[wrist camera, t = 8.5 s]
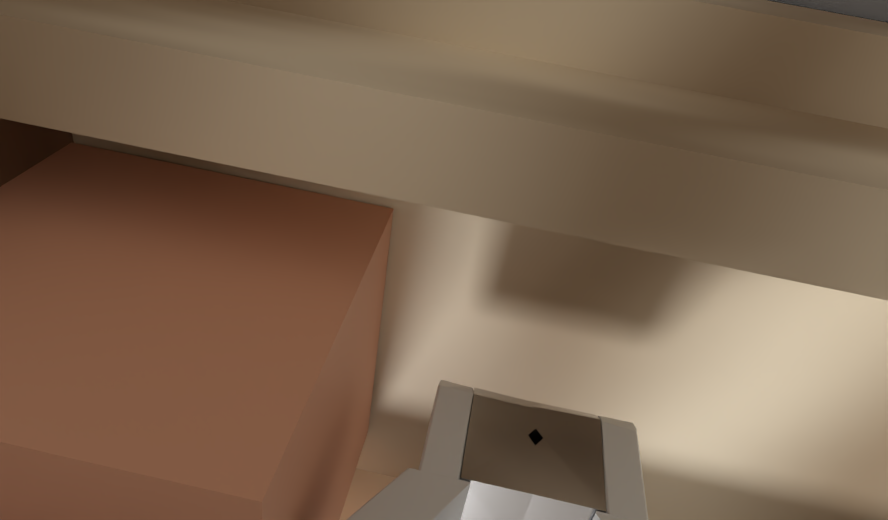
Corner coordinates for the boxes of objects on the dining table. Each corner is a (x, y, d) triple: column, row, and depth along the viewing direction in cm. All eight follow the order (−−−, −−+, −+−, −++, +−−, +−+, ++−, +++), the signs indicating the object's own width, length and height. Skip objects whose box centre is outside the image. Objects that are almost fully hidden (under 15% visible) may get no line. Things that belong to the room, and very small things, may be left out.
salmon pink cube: (393, 209, 9) (260, 502, 5) (368, 430, 12) (270, 732, 8) (71, 142, 10) (-300, 374, 5) (120, 375, 12) (-99, 642, 8)
